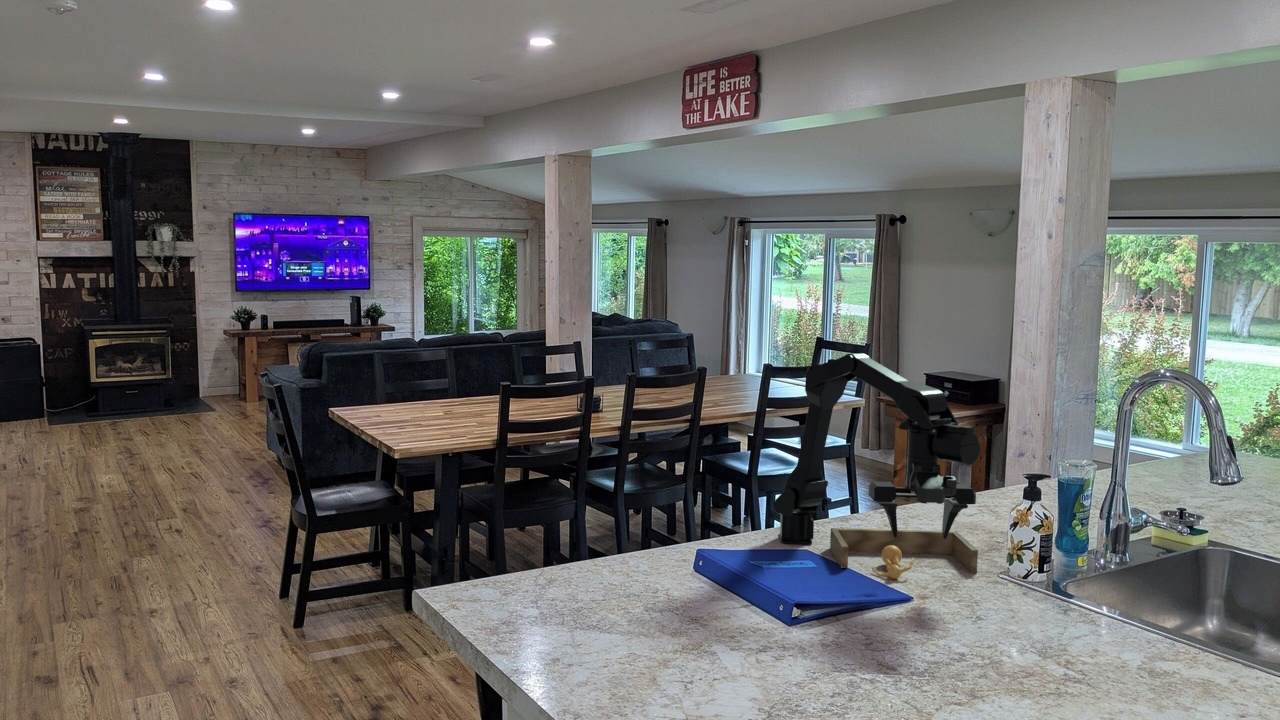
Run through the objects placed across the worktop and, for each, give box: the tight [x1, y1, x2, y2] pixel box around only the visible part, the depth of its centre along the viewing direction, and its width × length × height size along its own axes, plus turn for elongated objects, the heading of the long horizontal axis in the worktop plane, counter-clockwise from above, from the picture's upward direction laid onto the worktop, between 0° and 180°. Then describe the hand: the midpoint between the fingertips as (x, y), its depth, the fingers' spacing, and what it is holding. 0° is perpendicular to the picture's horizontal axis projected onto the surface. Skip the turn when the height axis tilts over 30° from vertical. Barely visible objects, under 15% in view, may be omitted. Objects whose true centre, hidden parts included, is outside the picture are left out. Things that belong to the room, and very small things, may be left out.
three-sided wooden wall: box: [829, 527, 979, 574], centre depth 197 cm, size 26×14×4 cm, turn 88°
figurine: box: [871, 545, 915, 580], centre depth 189 cm, size 8×6×12 cm
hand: (919, 537), depth 182 cm, fingers open, 9 cm apart
